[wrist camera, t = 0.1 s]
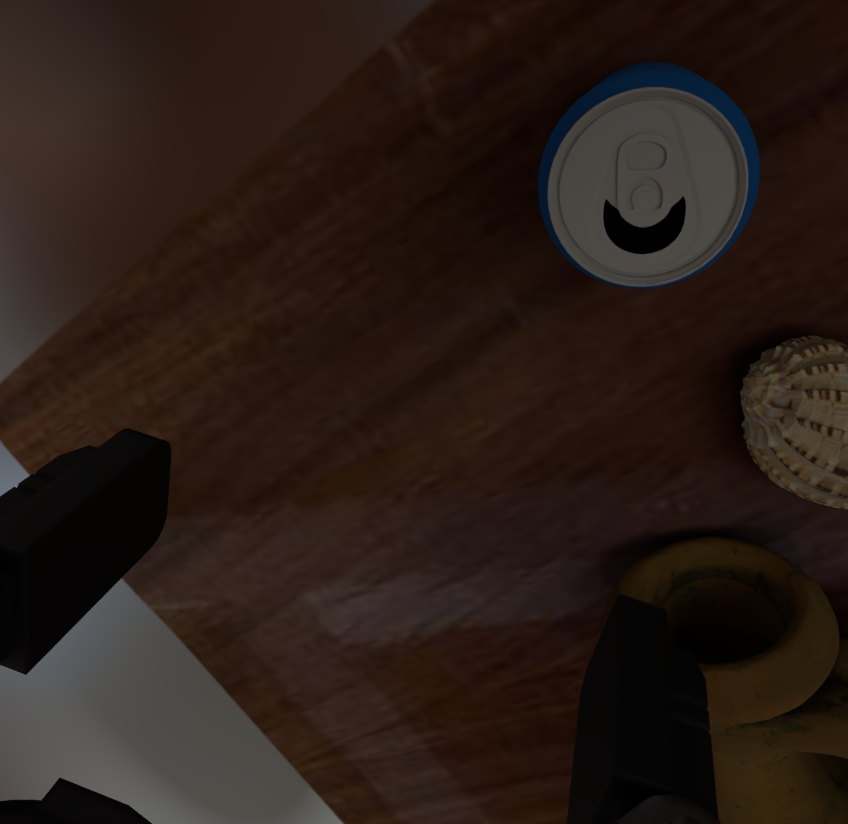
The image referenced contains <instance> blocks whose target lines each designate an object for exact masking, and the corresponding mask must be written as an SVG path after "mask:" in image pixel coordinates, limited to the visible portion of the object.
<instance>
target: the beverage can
mask: <svg viewBox="0 0 848 824" xmlns="http://www.w3.org/2000/svg"><path fill="white" fill-rule="evenodd" d="M759 177H760V163H759V154H758V148H757V145H756V141H755V137H754V134H753V132H752V130H751V127H750V125H749V123H748V121H747V119H746V118H745V116H744V115H743V113H742V111H741V110H740V109H739V107H738V106H737V105H736V104H735V103H734V102H733V100H732V99H731V98H730V97H729V96H727V95H726V94H725V93H724V92H723V91H722V90H721V89H719V88H718V87H716V86H715V85H713V84H711V83H710V82H708V81H707V80H705V79H703V78H702V77H700V76H699V75H697V74H695V73H694V72H692V71H691V70H688V69H686V68H684V67H682V66H678V65H675V64H671V63H664V62H645V63H639V64H635V65H631V66H628V67H625V68H623V69H620V70H618V71H616V72H614V73H613V74H611V75H609V76H607V77H606V78H605V79H603V80H602V81H601V82H600V83H598V84H597V85H596V86H594V87H593V88H592V89H591V90H589V91H588V92H587V93H586V94H584V95H583V96H582V97H581V98H579V99H578V100H577V101H576V102H575V103H574V104H573V105H572V106H571V107H570V108H569V109H568V110H567V112H566V113H565V114H564V115H563V117H562V118H561V119H560V121H559V122H558V124H557V125H556V127H555V129H554V130H553V132H552V134H551V136H550V138H549V140H548V142H547V145H546V147H545V150H544V153H543V156H542V160H541V164H540V170H539V176H538V196H539V205H540V210H541V214H542V218H543V221H544V223H545V226H546V229H547V231H548V233H549V235H550V237H551V239H552V240H553V242H554V243H555V245H556V246H557V248H558V249H559V250H560V252H561V253H562V254H563V255H564V256H565V257H566V258H567V259H568V260H569V261H570V262H571V263H572V264H573V265H574V266H576V267H577V268H578V269H579V270H581V271H582V272H584V273H586V274H587V275H589V276H590V277H593V278H595V279H597V280H599V281H601V282H604V283H607V284H611V285H614V286H619V287H624V288H634V289H647V288H657V287H662V286H667V285H671V284H674V283H677V282H680V281H683V280H685V279H687V278H690V277H692V276H694V275H696V274H698V273H699V272H701V271H702V270H704V269H706V268H707V267H709V266H710V265H711V264H712V263H714V262H715V261H716V260H718V259H719V258H720V257H721V256H722V255H723V254H724V253H725V252H726V251H727V250H728V249H729V248H730V247H731V245H732V244H733V243H734V242H735V240H736V239H737V238H738V236H739V235H740V233H741V232H742V230H743V228H744V227H745V225H746V223H747V221H748V219H749V217H750V214H751V212H752V210H753V207H754V204H755V200H756V197H757V192H758V186H759Z"/></svg>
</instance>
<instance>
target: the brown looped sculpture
mask: <svg viewBox="0 0 848 824" xmlns="http://www.w3.org/2000/svg"><path fill="white" fill-rule="evenodd" d="M620 594H622V595H625V596H628V597H631V598H634V599H637V600H640V601H643V602H646V603H649V604H652V605H655V606H658V607H661V608H664V609H665V610H666V613H667V635H668V643H669V644H672V645H674V646H677V647H680V648H683V649H686V650H689V651H691V653H692V655H693V657H694V658H695V660H696V662H697V664H698V663H699V664H698V666H699V668H700V669H701V671H702V673H703V675H704V677H705V678H706V687H707V698H708V708H707V711H709V720H710V730H709V734H711V742H712V753H713V764H714V775H715V786H716V797H717V808H718V818H719V822H720V823H721V824H848V637H841V636H839V629H838V624H837V620H836V617H835V614H834V612H833V609H832V607H831V605H830V603H829V600H828V599H827V597H826V595H825V594H824V592H823V590H822V589H821V587H820V586H819V585H818V583H817V582H816V581H815V580H814V579H812V578H810V577H808V576H807V575H806V574H805V573H804V572H803V571H801V570H800V569H799V568H798V567H796V566H795V565H794V564H793V563H791V562H790V561H788V560H787V559H785V558H783V557H781V556H780V555H778V554H777V553H775V552H774V551H772V550H770V549H768V548H765V547H763V546H760V545H757V544H754V543H751V542H748V541H744V540H740V539H735V538H729V537H717V536H704V537H697V538H692V539H687V540H682V541H678V542H675V543H672V544H670V545H668V546H666V547H663V548H661V549H659V550H657V551H655V552H653V553H650V554H648V555H646V556H644V557H643V558H641V559H639V560H638V561H637V562H635V563H634V564H633V565H632V566H630V567H629V568H628V569H627V570H626V571H625V572H624V573H623V575H622V576H621V577H620V578H619V580H618V581H617V583H616V584H615V586H614V588H613V589H612V592H611V594H610V596H609V598H608V601H607V604H606V609H605V613H604V620H603V629H604V626H605V624H606V622H607V619H608V617H609V614H610V612H611V610H612V607H613V605H614V603H615V601H616V599H617V597H618V596H619V595H620Z"/></svg>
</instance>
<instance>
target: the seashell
mask: <svg viewBox="0 0 848 824" xmlns="http://www.w3.org/2000/svg"><path fill="white" fill-rule="evenodd" d="M750 367H751V370H749V374H748V375H747V376H746V377H745V378H743V384H744V385H743V389H742V390H741V391H740V392H739V393H740V395H741V405H742V408H743V413H744V415H745V419H744V421H743V422H742V424H741V427H742V428H743V431H744V435H743V437H744V439H745V442H746V445H747V448H748V450H749V453H750V455H751V457H752V459H753V460H754V462H755V464H756V465H757V466H758V467H759V468H760V469H761V470H762V471H763V472H764V473H765V474H766V475H767V476H768V478H769V479H770V480H772V481H773V482H774V483H776V484H777V485H779V486H780V487H781V488H783V489H785V490H787V491H789V492H790V493H792V494H795V495H797V496H799V497H802V498H804V499H806V500H809V501H813V502H816V503H819V504H822V505H826V506H830V507H835V508H840V509H847V510H848V346H847V345H845V344H843V343H841V342H839V341H837V340H834V339H829V338H824V337H819V336H806V337H801V338H792V339H788V340H786V341H784V342H783V343H781V344H780V345H778V346H776V348H771V349H767V350H766V351H764V352H762V354H761V358H760V360H759V361H757V362H755V363H753V364H750Z"/></svg>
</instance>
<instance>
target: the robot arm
mask: <svg viewBox="0 0 848 824" xmlns="http://www.w3.org/2000/svg"><path fill="white" fill-rule="evenodd" d="M170 464H171V447H170V444H169V443H168V442H167V441H165V440H162V439H159V438H156V437H153V436H150V435H147V434H144V433H141V432H138V431H135V430H132V429H123V430H122V431H120V432H119V433H117V434H116V435H114V436H113V437H112V438H110V439H109V440H108V441H106V442H105V443H104V444H102V445H101V446H100V447H98V448H95V447H92V446H86V447H83V448H80V449H77V450H74V451H71V452H68V453H65V454H62V455H59V456H58V457H56V458H55V459H53V460H52V461H50V462H49V463H48V464H46V465H45V466H43V467H42V468H40V469H39V470H38V471H37V473H36V474H35V475H34V474H32V475H30V476H29V477H28V478H26V479H25V480H23V481H22V482H21V483H19V485H18V487H17V488H16V487H13V488H12V489H10V490H9V491H8V492H6V493H5V494H3V495H2V496H0V665H2V666H5V667H8V668H10V669H12V670H15V671H18V672H20V673H23V674H25V675H26V674H27V673H28V672H29V671H30V670H31V669H32V668H33V667H34V666H35V665H36V664H37V663H38V662H39V661H40V660H41V659H42V658H43V657H44V656H45V655H46V654H47V653H48V652H49V651H50V650H51V649H52V648H53V647H54V646H55V645H56V644H57V643H58V642H59V641H60V640H61V639H62V638H63V637H64V636H65V635H66V634H67V633H68V631H70V629H72V627H73V626H75V624H77V623H78V621H79V620H80V619H81V618H82V617H83V616H84V615H85V614H86V613H87V612H88V611H89V610H90V609H91V608H92V607H93V606H94V605H95V604H96V603H97V602H98V601H99V600H100V599H101V598H102V597H103V596H104V595H105V594H106V593H107V592H108V591H109V590H110V589H111V588H112V587H113V586H114V585H115V584H116V583H117V582H118V581H119V580H120V579H121V578H122V577H123V576H124V575H125V574H126V573H127V572H128V571H129V570H130V569H131V568H132V567H133V566H134V565H135V564H136V563H137V562H138V561H139V560H140V559H141V558H142V557H143V555H144V554H145V553H146V552H147V551H148V550H149V549H150V548H151V547H152V546H153V545H154V544H155V542H156V541H157V539H158V537H159V536H160V534H161V532H162V529H163V527H164V524H165V521H166V516H167V507H168V493H169V478H170ZM707 708H708V698H707V687H706V678H705V677H704V675H703V673H702V671H701V669H700V668H699V666H698V664H697V662H696V660H695V658H694V657H693V655H692V653H691V651H689V650H686V649H683V648H680V647H677V646H674V645H672V644H669V643H668V635H667V613H666V610H665V609H664V608H661V607H658V606H655V605H652V604H649V603H646V602H643V601H640V600H637V599H634V598H631V597H628V596H625V595H622V594H620V595H619V596H618V597H617V599H616V601H615V603H614V605H613V607H612V610H611V612H610V614H609V617H608V619H607V622H606V624H605V626H604V629H603V631H602V633H601V636H600V638H599V640H598V643H597V645H596V647H595V650H594V652H593V655H592V657H591V659H590V662H589V664H588V667H587V670H586V673H585V677H584V681H583V685H582V689H581V694H580V701H579V710H578V720H577V729H576V739H575V749H574V758H573V768H572V778H571V787H570V797H569V807H568V816H567V824H721V823H720V822H719V818H718V808H717V797H716V786H715V775H714V764H713V753H712V742H711V734H709V730H710V720H709V711H707ZM0 824H152V823H150V822H149V821H148V820H147V819H145V818H144V817H143V816H142V815H140V814H139V813H138V812H136V811H135V810H134V809H133V808H131V807H130V806H129V805H126V804H124V803H122V802H119V801H117V800H114V799H112V798H109V797H107V796H104V795H102V794H99V793H97V792H94V791H91V790H89V789H87V788H84V787H82V786H79V785H77V784H74V783H72V782H69V781H67V780H64V779H62V778H59V779H58V780H57V782H56V783H55V784H54V786H53V787H52V788H51V789H50V791H49V792H48V793H47V794H46V795H45V797H44V798H43V799H42V800H41V801H40V800H7V801H0Z"/></svg>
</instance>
